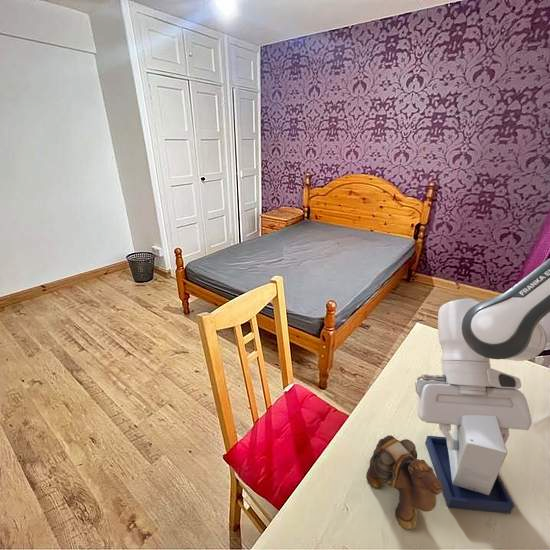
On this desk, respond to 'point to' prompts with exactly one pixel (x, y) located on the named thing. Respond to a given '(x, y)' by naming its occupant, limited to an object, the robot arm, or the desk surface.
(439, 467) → the tray
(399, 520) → the figurine
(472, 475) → the small box
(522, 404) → the robot arm
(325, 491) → the desk surface
